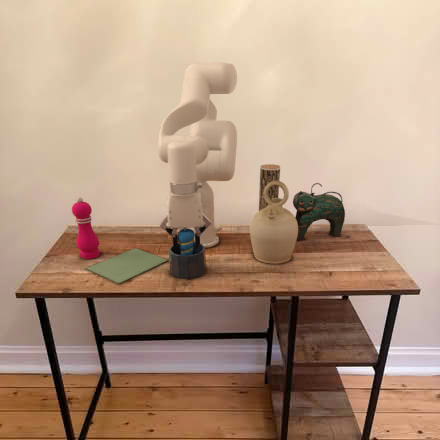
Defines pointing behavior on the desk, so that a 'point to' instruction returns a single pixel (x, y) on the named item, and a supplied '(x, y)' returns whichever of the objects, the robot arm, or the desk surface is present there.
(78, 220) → the pepper mill
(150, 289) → the desk surface
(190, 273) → the crock
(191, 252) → the ornament
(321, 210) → the ceramic cat
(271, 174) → the wooden log
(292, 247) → the jug
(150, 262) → the mat
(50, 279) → the desk surface
